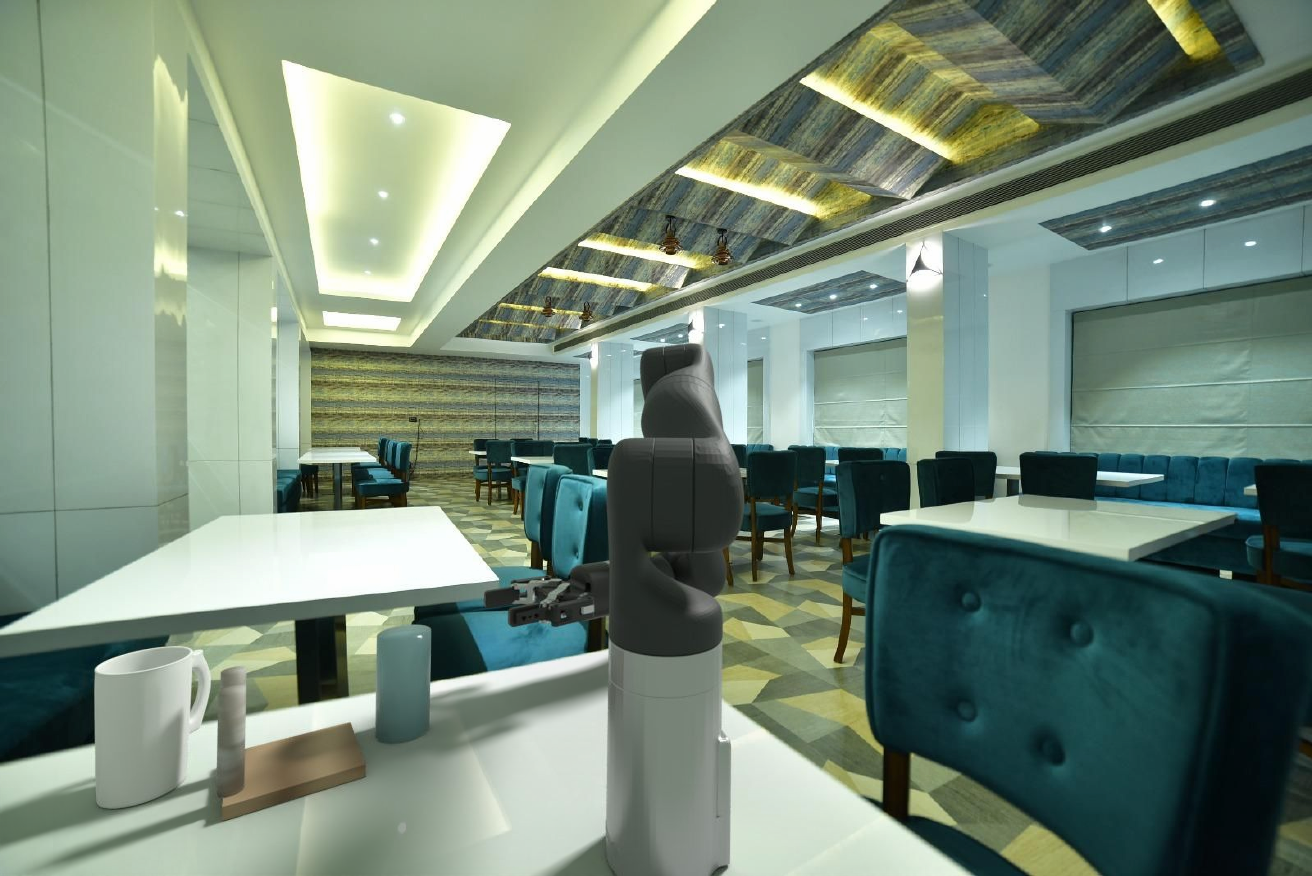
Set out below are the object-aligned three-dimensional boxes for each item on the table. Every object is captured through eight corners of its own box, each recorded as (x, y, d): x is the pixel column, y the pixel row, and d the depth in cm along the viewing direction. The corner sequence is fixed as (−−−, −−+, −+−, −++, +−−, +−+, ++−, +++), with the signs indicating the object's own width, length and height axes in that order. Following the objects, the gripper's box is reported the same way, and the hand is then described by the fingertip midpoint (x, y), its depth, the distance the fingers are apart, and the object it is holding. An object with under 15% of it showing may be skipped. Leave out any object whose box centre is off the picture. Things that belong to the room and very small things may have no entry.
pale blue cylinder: (432, 715, 66) (433, 623, 66) (426, 739, 61) (428, 639, 61) (380, 721, 65) (382, 626, 65) (370, 746, 59) (372, 643, 59)
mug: (137, 815, 48) (140, 676, 48) (69, 808, 49) (72, 672, 49) (237, 751, 58) (239, 636, 58) (179, 746, 59) (181, 633, 59)
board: (350, 732, 62) (351, 641, 62) (365, 776, 54) (367, 671, 54) (219, 767, 55) (221, 664, 55) (214, 823, 47) (216, 703, 47)
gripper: (583, 552, 85) (477, 567, 75) (635, 572, 73) (518, 592, 64) (582, 601, 85) (477, 622, 75) (634, 628, 73) (518, 657, 64)
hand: (496, 608), depth 69 cm, fingers open, 8 cm apart
